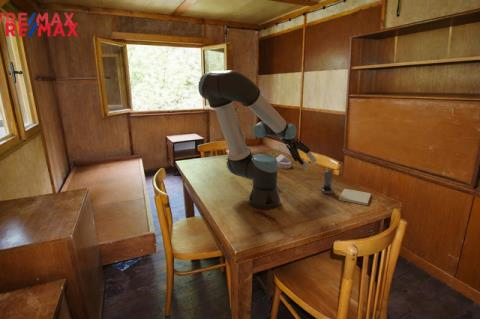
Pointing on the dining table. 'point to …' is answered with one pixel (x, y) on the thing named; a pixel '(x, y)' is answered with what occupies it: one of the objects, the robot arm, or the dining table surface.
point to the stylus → (327, 183)
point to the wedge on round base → (283, 162)
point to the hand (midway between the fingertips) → (311, 165)
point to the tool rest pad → (355, 196)
